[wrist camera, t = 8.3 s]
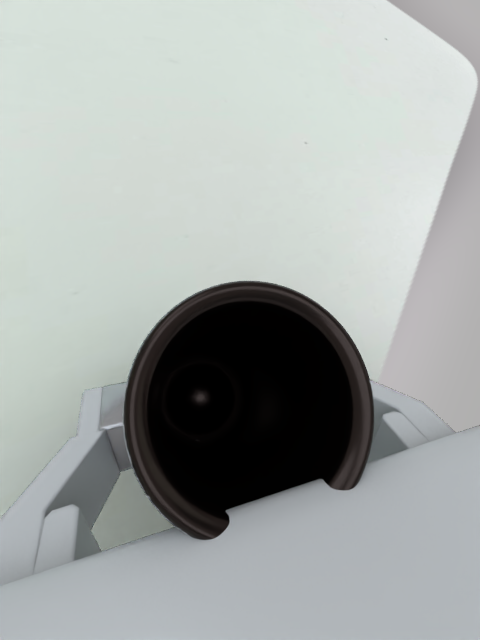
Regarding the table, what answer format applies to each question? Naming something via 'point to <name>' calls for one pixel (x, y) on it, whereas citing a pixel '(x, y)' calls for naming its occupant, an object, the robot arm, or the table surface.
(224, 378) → the planter
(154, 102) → the table surface
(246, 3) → the table surface
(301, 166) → the table surface
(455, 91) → the table surface
